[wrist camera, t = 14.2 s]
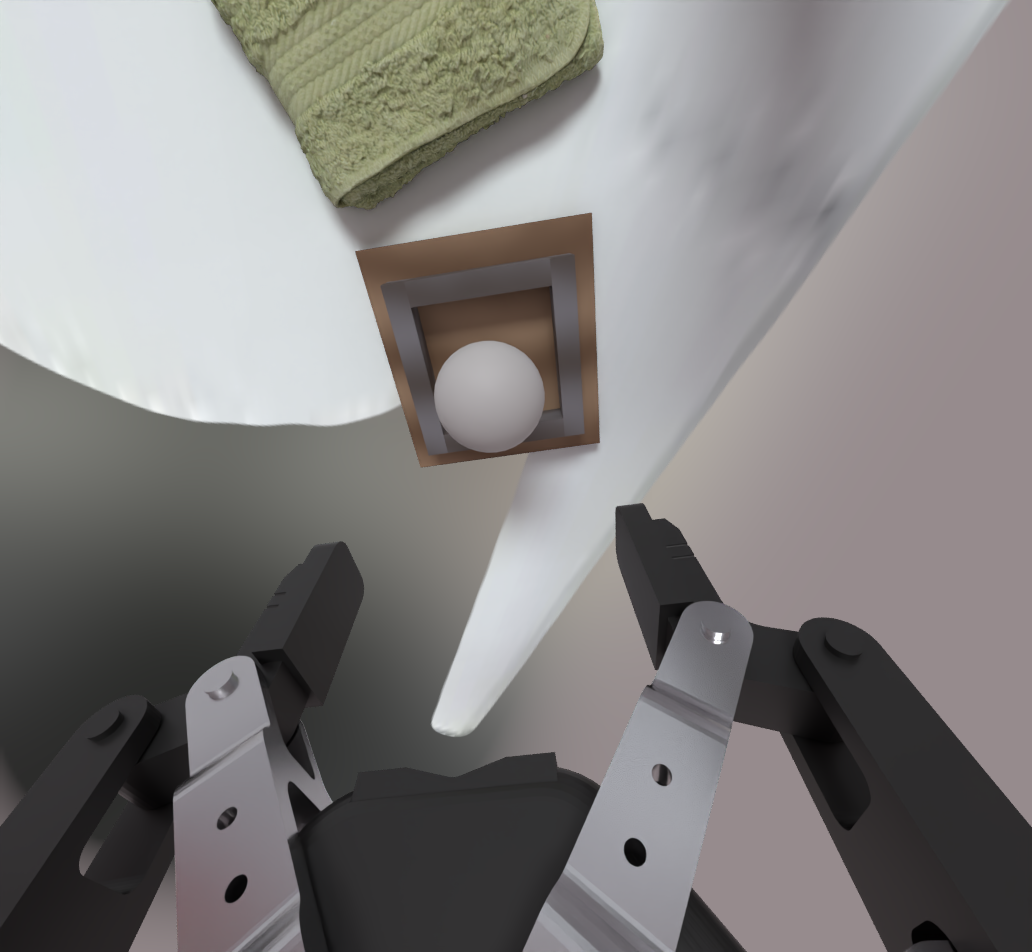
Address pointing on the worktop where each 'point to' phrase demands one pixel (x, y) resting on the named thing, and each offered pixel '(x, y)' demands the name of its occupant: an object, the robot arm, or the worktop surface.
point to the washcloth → (406, 76)
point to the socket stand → (491, 323)
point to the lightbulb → (489, 396)
